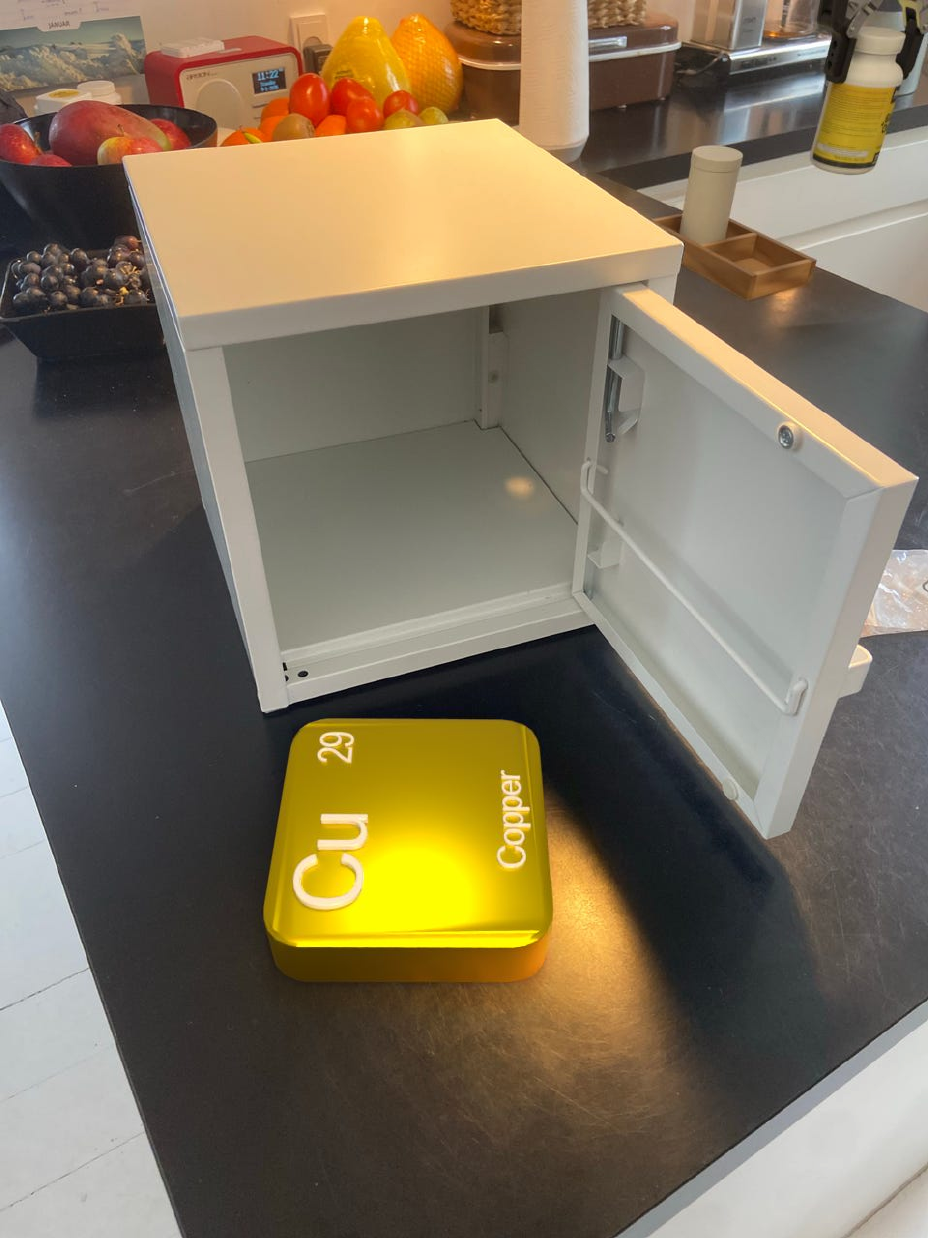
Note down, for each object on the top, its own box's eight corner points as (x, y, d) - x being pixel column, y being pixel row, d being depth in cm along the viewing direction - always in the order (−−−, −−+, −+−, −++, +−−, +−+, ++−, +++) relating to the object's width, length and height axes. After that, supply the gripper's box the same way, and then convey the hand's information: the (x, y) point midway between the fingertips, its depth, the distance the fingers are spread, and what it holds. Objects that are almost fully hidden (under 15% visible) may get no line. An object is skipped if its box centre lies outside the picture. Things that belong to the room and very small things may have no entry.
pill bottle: (868, 181, 89) (912, 43, 81) (801, 170, 91) (837, 33, 83) (878, 162, 93) (920, 29, 85) (813, 152, 95) (849, 21, 87)
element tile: (550, 985, 48) (558, 941, 45) (266, 985, 48) (253, 940, 45) (533, 760, 59) (538, 712, 56) (301, 759, 59) (293, 710, 56)
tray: (703, 233, 128) (708, 207, 125) (809, 287, 115) (817, 259, 113) (642, 246, 124) (646, 219, 122) (745, 304, 111) (752, 275, 109)
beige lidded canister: (702, 237, 125) (720, 142, 117) (732, 253, 121) (753, 156, 113) (666, 245, 123) (682, 149, 115) (696, 261, 119) (715, 163, 111)
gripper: (889, -147, 71) (825, 94, 82) (1035, -145, 75) (954, 86, 86) (831, -154, 76) (778, 74, 87) (971, -152, 80) (902, 66, 91)
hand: (866, 79), depth 87 cm, fingers closed on pill bottle, 6 cm apart
